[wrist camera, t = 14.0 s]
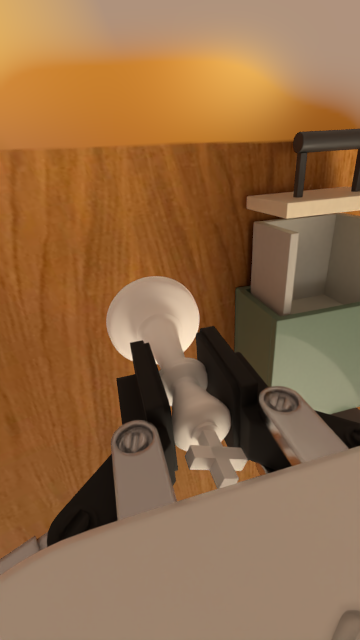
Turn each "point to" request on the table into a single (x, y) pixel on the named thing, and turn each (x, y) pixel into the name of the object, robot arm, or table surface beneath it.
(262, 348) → the cabinet
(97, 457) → the table surface
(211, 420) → the chess piece
